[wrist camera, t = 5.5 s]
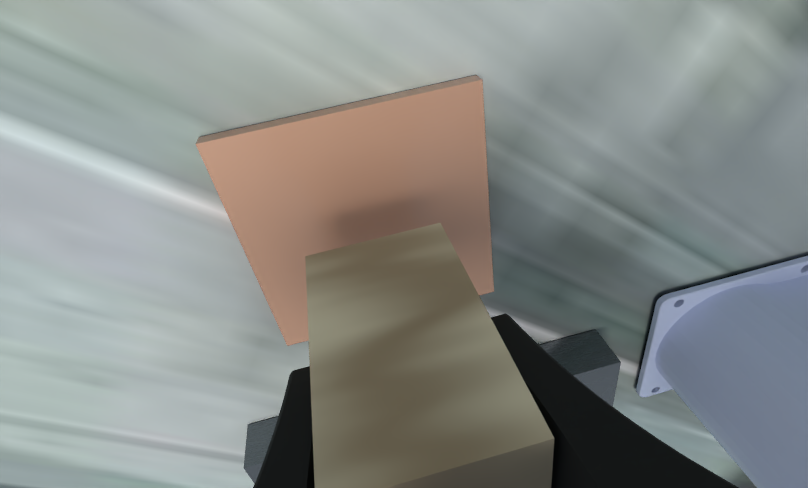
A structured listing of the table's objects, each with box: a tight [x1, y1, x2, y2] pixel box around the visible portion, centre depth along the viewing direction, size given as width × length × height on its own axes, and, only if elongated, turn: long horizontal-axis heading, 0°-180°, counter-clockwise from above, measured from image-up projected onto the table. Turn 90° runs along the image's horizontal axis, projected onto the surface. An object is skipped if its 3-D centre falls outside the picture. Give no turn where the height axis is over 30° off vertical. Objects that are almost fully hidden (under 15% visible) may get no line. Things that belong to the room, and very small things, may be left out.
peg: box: [305, 223, 554, 488], centre depth 11 cm, size 4×4×7 cm
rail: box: [244, 330, 621, 483], centre depth 24 cm, size 18×9×2 cm, turn 99°
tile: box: [196, 75, 494, 346], centre depth 17 cm, size 9×9×1 cm
